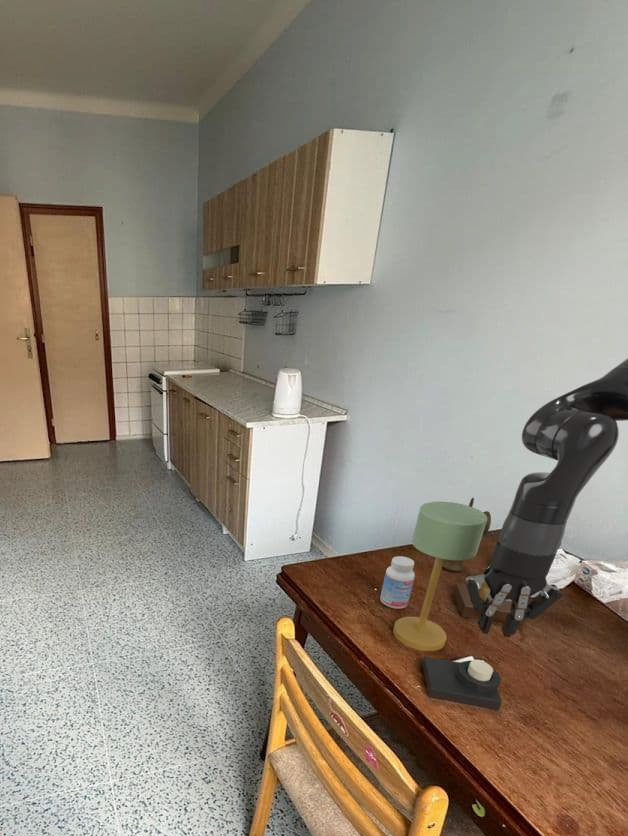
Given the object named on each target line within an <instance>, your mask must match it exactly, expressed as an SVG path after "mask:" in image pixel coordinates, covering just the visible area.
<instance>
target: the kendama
mask: <svg viewBox="0 0 628 836" xmlns="http://www.w3.org/2000/svg"><path fill="white" fill-rule="evenodd" d="M474 501H475V498H474V497H471V499H470V501H469V503H468V506H470V507H474ZM482 512H483V513H484V514H485V515H486V516H487V522H486V525H485V528H484V532H483V535H482V536H486V535H487V534H488V532H489V531H490V528H491V524H492V515H491V513H490V511H489V510H486V511H482ZM463 561H464V560H447V559H444V562H443V565H442V568H443V569H445V570H446V571H449V572H455V573H460V572H462V571H464V570H465V567H464V564H463Z"/></svg>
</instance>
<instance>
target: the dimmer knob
mask: <svg viewBox="0 0 628 836" xmlns="http://www.w3.org/2000/svg"><path fill="white" fill-rule="evenodd" d="M488 590H489V587H488V585H487V583H486V582H484V583H483V584H482V587H481V590H480V593H479V596H480V598H481V599H483V600H485V599H486V597H487V592H488Z"/></svg>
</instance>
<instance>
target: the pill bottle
mask: <svg viewBox="0 0 628 836" xmlns="http://www.w3.org/2000/svg"><path fill="white" fill-rule="evenodd" d="M414 566H415V561H414V560H413V559H412V558H409V557H406V556H401V555H398V556H393V557H392V559H391V562H390V566H388V567H387V568H386V571H385V574H384V579H383V583H382V586H381V592H380V597H379V600H380V603H382V604H383V606H386V607H388V608H391V609H393V610H394V609H396V610H401V609H402V610H403V609H405V608H406V607H407V606H408V605H409V600H410V597H411V593H412V589H413V586H414V581H415V577H416V574H415V571H414V570H413V569H414V568H415V567H414Z"/></svg>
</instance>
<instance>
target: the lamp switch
mask: <svg viewBox="0 0 628 836" xmlns="http://www.w3.org/2000/svg"><path fill="white" fill-rule="evenodd" d="M470 661H471V662H470V665H469V667H468V670H467V671H468V674H469V675H470V676H471V677H473V678H475V679H477V680H480V681H488V680H490V678H491V676H492V673H493V669H494V668H493V667H492V665H490V664H489V663H488V662H485V661H483V660H477V659H476V660H475V659H474V660H470Z"/></svg>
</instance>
